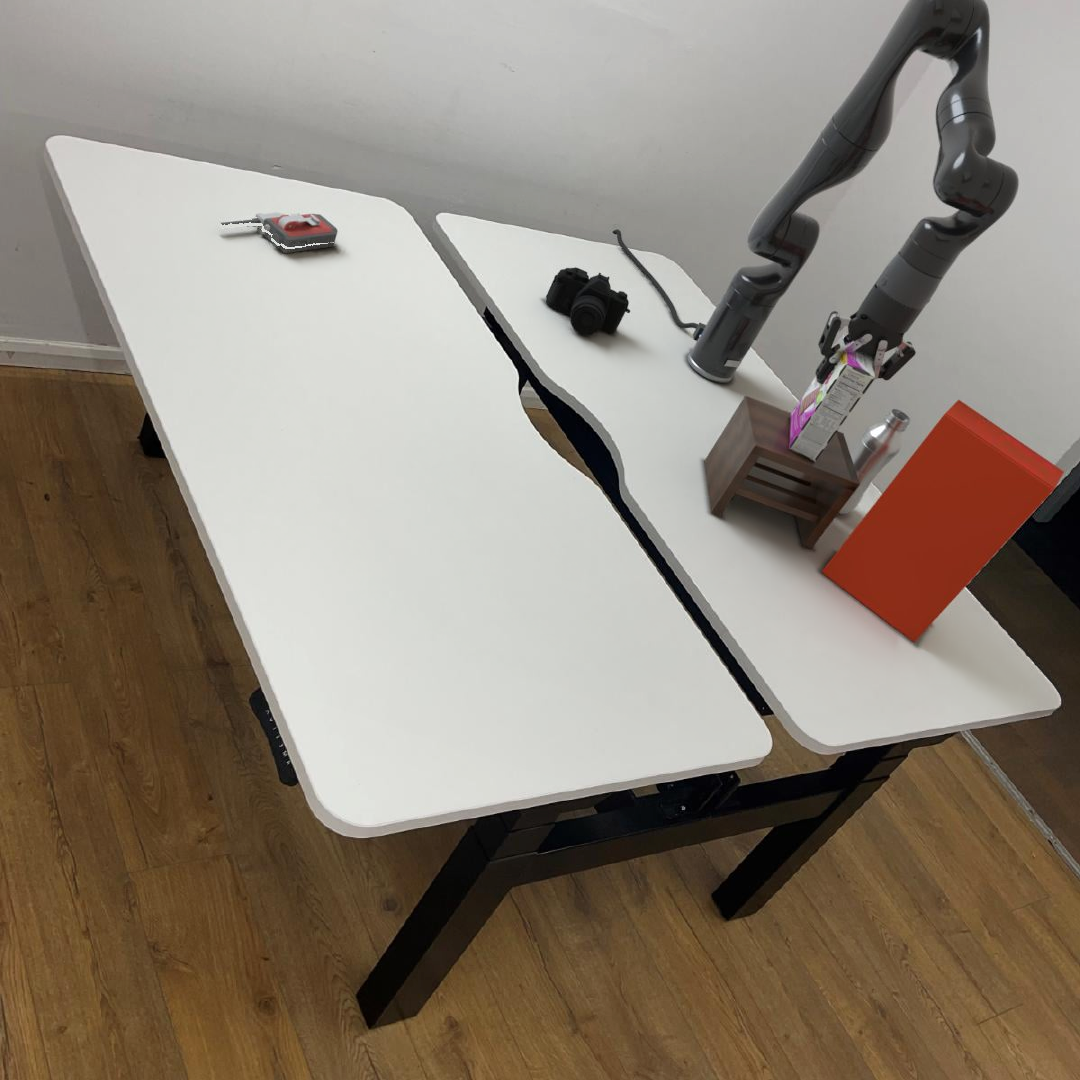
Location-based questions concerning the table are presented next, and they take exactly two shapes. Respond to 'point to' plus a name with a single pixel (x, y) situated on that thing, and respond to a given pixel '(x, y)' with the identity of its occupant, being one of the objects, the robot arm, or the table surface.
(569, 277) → the film camera
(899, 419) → the silver metal bottle
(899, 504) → the file binder
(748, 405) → the shoe rack
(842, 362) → the candy bar box
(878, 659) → the table surface
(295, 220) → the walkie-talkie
